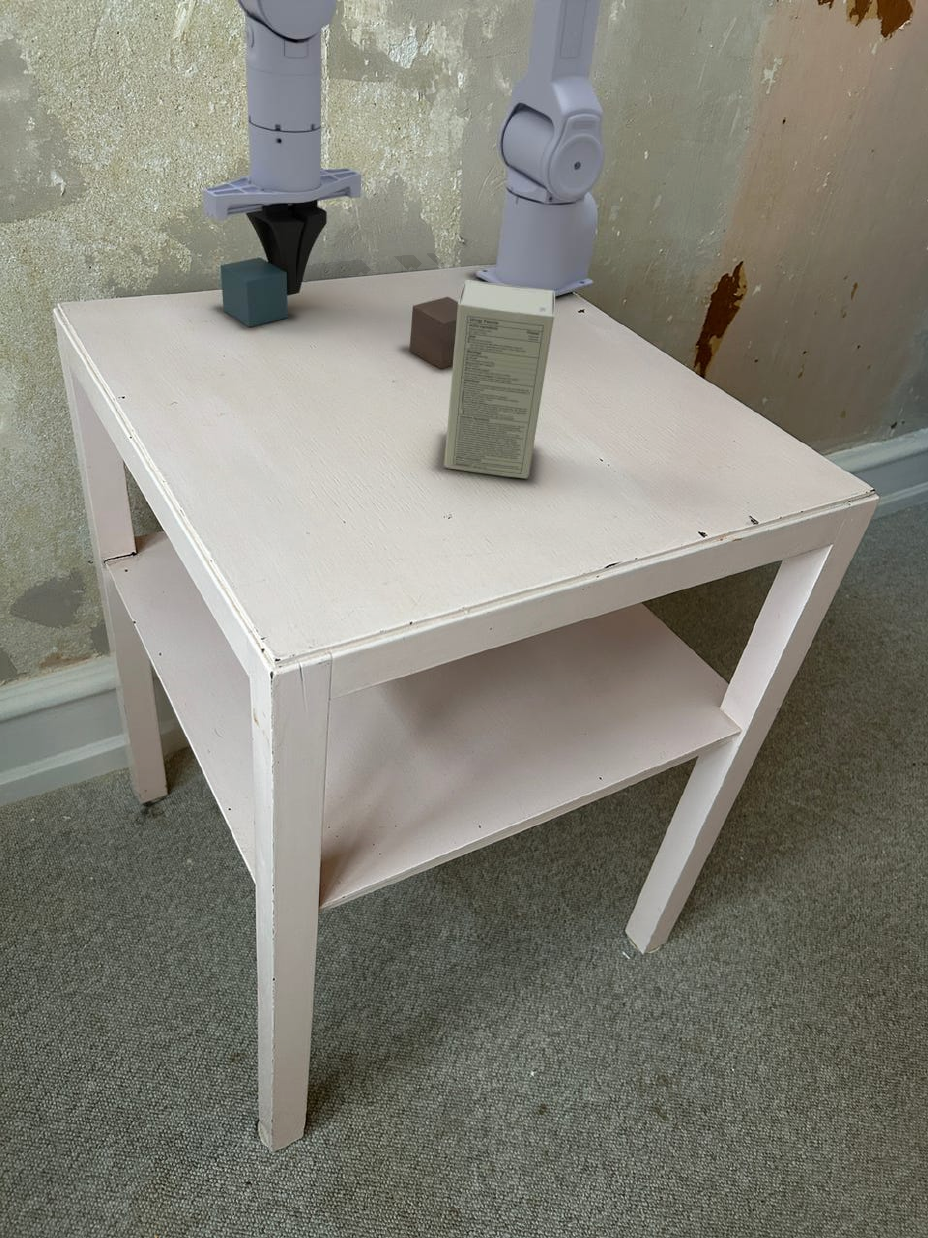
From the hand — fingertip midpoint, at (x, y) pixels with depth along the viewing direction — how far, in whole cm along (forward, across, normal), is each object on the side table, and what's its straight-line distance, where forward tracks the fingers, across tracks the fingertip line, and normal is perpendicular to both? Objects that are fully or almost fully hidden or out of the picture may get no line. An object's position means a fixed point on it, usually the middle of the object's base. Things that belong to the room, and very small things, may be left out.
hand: (287, 290), depth 84 cm
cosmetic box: (+2, +3, +29) cm, 29 cm away
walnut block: (+2, -6, +14) cm, 16 cm away
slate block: (+2, +3, 0) cm, 4 cm away
